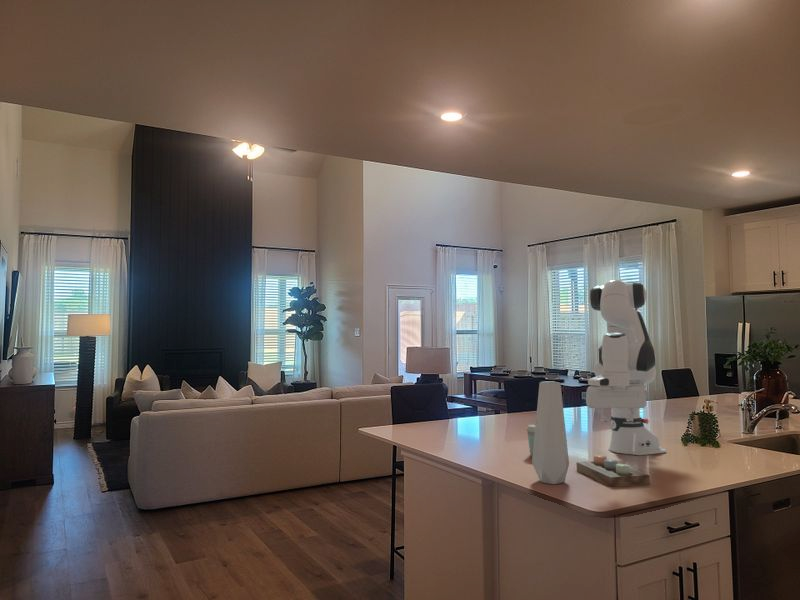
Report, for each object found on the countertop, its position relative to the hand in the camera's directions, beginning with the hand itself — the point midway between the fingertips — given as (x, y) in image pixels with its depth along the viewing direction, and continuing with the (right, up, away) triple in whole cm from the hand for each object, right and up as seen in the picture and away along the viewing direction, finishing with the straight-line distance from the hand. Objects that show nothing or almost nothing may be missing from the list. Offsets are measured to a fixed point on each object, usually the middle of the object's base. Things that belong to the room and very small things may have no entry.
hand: (616, 421), depth 186 cm
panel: (0, -20, +4) cm, 20 cm away
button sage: (+1, -17, -3) cm, 17 cm away
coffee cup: (-17, -22, +38) cm, 47 cm away
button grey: (0, -17, +4) cm, 18 cm away
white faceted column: (-22, -20, -1) cm, 29 cm away
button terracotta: (-2, -18, +11) cm, 21 cm away
